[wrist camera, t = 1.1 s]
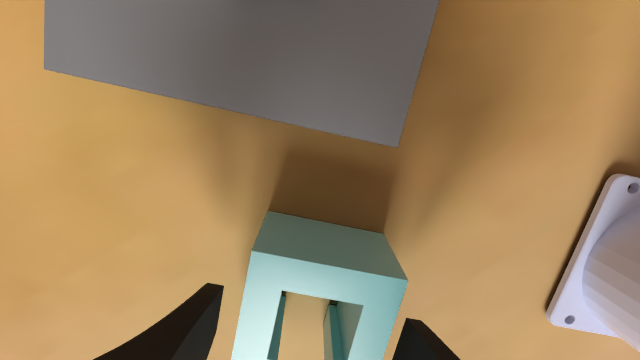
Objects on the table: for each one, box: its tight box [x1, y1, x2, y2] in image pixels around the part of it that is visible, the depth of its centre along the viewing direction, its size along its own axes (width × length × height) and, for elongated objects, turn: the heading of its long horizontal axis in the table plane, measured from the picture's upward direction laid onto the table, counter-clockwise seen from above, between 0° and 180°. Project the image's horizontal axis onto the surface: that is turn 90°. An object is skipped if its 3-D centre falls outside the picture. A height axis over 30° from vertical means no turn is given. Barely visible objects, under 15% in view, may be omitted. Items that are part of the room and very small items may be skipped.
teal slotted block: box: [231, 211, 408, 360], centre depth 14 cm, size 6×6×4 cm
